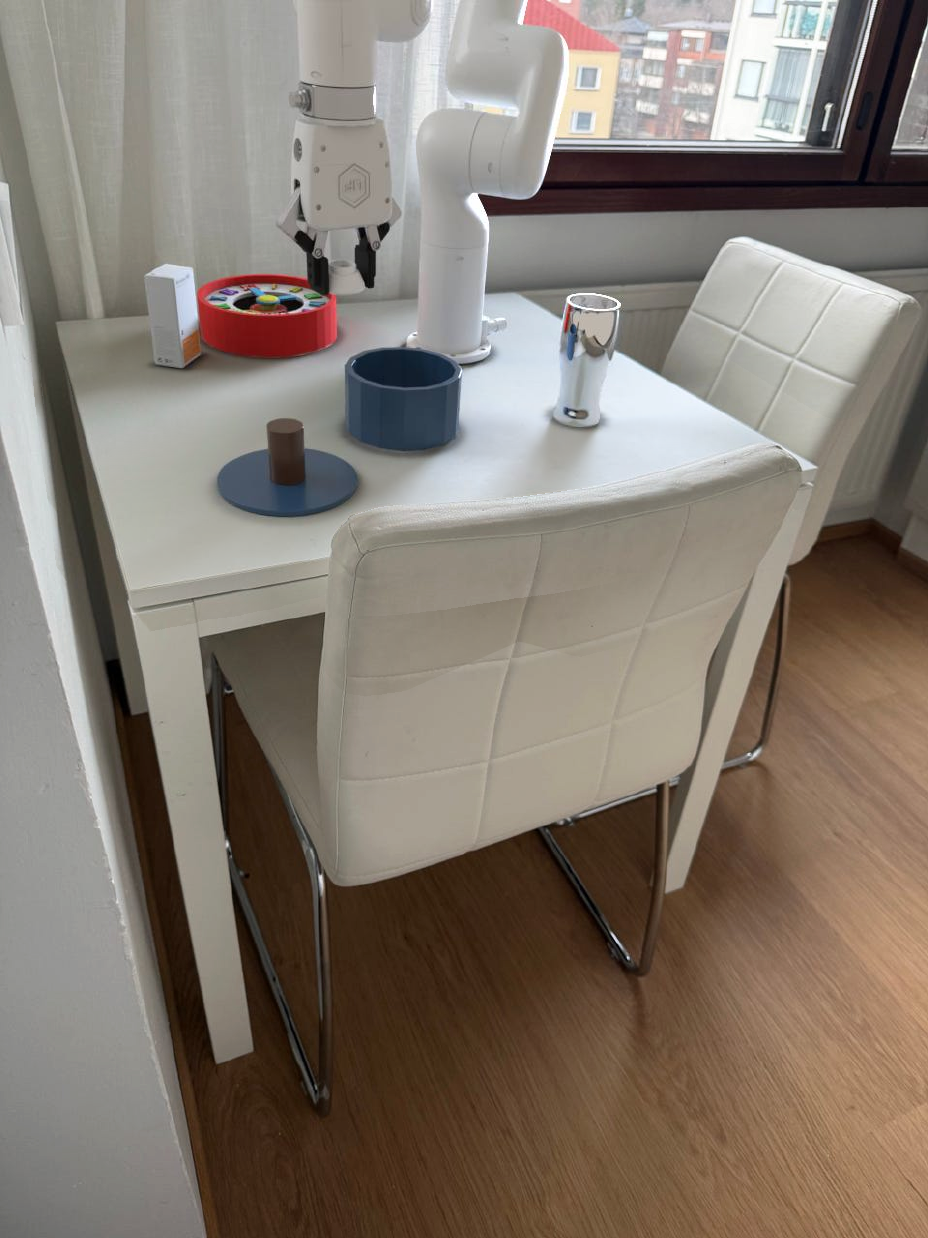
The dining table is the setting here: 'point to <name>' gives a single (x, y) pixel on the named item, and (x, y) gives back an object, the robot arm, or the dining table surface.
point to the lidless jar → (344, 278)
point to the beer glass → (585, 356)
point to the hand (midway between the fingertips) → (342, 286)
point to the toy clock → (266, 316)
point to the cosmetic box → (173, 315)
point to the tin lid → (286, 476)
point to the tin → (402, 398)
